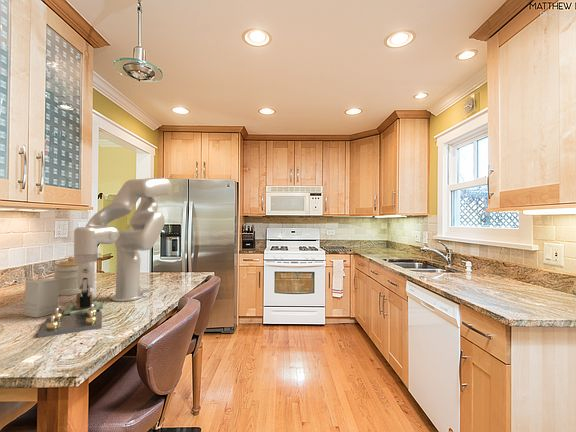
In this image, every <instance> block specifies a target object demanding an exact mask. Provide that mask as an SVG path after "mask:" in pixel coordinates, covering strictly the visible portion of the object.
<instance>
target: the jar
mask: <svg viewBox="0 0 576 432" xmlns="http://www.w3.org/2000/svg"><path fill="white" fill-rule="evenodd" d="M53 271H54V275H53V279H59V295H58V296H72V295H77V293H81V290H80V289H79V287H78V264H75V263H74V256H68V259H67V260H61V261H59V262H58V263H56V267H55V268H54V269H53Z"/></svg>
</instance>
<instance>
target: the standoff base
mask: <svg viewBox="0 0 576 432" xmlns="http://www.w3.org/2000/svg"><path fill="white" fill-rule="evenodd" d="M93 306H94V304H91V309H89V310H87V313H82V314H75V315H70V314H69V315H63V313H62V312H59V307H58V308H56V310H55V313H53V314H51V316H50V317H47V318H46V319H45V321H44V322H43V324H42V325H41V328H40V329H39V331H38V333H37V338H45V337H50V336H52V337H53V336H58V335H64V334H69V333H77V332H84V331H91V330H96V329H102V327H103V326H102V324H103V323H102V321H103V319H102V318H103V314H102V313H103V312H102V311H98V310H97V309H93Z"/></svg>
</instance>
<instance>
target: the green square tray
mask: <svg viewBox="0 0 576 432" xmlns="http://www.w3.org/2000/svg"><path fill="white" fill-rule="evenodd" d="M75 296H76V297H75V303H73V304H72V305H68V306H65V309H64V311H63V315H69V316H70V315H78V314H86V313H87V310H89V309H91V304H94V306H93V309H97V311H98V310H103V309H104V307H103V306H104V303H103V302H104V301H95V300H94V301H93V291H90V295H89V296H90V306H89V307H83V308H80V297H81V293H77V294H75Z"/></svg>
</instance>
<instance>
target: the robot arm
mask: <svg viewBox="0 0 576 432" xmlns="http://www.w3.org/2000/svg"><path fill="white" fill-rule="evenodd" d="M172 187H173V186H172V182H171V180H169V179H168V178H166V177H147V178H146V177H145V178H136V179H134V178H133V179H128V180H126V181H125V182H124V183H123V185H122V186H121V188H120V190H118V192H117V194H116V195H115V196H114V197H113V200H112V201H111V202H110V203H109V204H107V205H106V206H104V207H103V208H101V209H100V210H98V211H97V212H96V213H95V214H94V215H93V216H91V217H90V219H89V221H88V222H87V223H86V225H85V226H81V227H79V226H77V227H75V229H74V230H73V231H74V232H73V233H74V234H73V257H74V263H75V264H78V287H79V289H80V290H81V297H80V308H83V307H89V306H90V296H89V295H90V292H91V289H94V288H95V275H96V274H95V271H96V270H95V263H97V262H98V245H100V244H101V245H110V244H111V245H112V244H113V243H114V245H115V249H116V251H115V252H116V273H115V275H116V276H115V281H116V282H115V294H114V295H112V296H111V300H112V301H114V302H130V301H136V300H140V299H142V298H143V297H144V293H145V294H149V293H151V288H149V287H148V288H147V287H144V288H142V287H141V285H140V281H141V280H140V278H141V277H140V276H141V256H140V252H139V251H141V252H142V251H144V252H145V251H149V250H150V249H151V250H152V248H153V247H154V246H155V244H156V242H157V241H158V238H159V237H160V235H161V233H162V231H163V229H164V226H165V216H164V214H163V213H161V212H160V211H158V209H159V203H158V201H157V198H156V197H160V196H166V195H168V194H169V193H171V191H172V189H173V188H172ZM139 200H140V201H139ZM138 201H139V204H138V206H137V208H136V209H135V211H134V213H133V214H132V216H131V217H130V219H129V226H130V228H127V229H123V230H120V231H119V230H118V229H117V228H116V227H114V226H113V225H112V226H111V225H109V224H110V223H112V222H113V221H114V220H117V219H121V218H123V217H125V216H127V215H129V214H130V213H131V212H132V210H133V209H134V207H135V206H136V203H137V202H138Z"/></svg>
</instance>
